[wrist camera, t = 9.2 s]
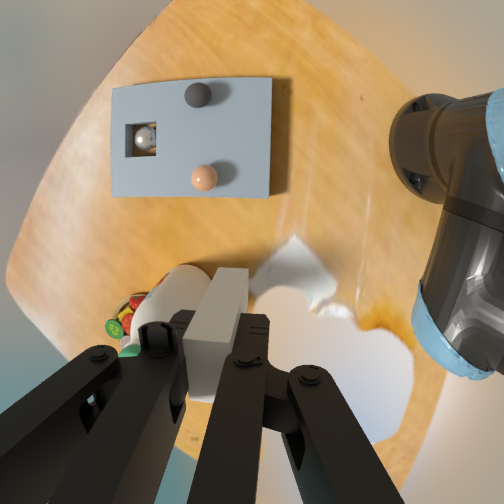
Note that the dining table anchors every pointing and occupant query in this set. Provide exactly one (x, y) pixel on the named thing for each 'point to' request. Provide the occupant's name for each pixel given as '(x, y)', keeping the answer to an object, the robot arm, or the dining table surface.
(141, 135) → the steel ball
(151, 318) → the milk bottle
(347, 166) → the dining table surface
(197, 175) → the terracotta ball
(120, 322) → the toy food set
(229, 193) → the board
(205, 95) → the black ball
